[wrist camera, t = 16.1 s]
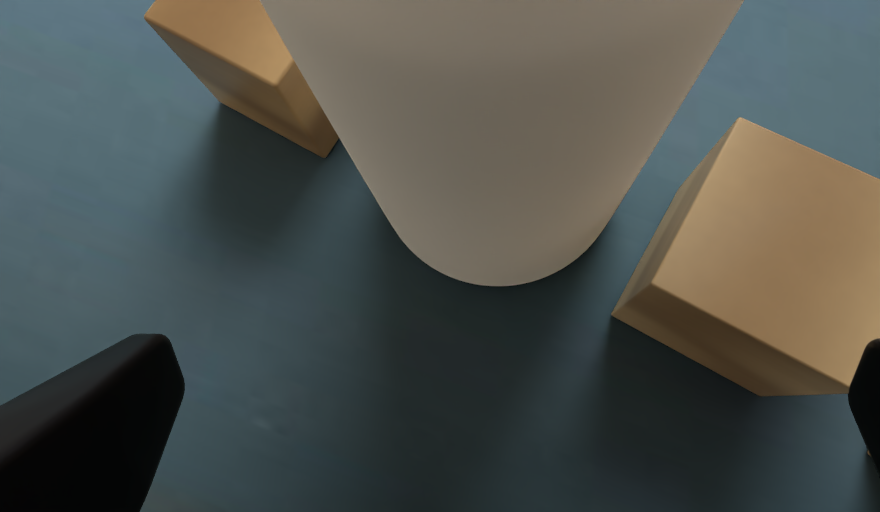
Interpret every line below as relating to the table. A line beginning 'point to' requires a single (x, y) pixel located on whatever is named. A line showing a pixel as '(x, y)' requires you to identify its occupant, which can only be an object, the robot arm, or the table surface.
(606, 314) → the table surface
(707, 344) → the block
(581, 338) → the table surface
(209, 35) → the block
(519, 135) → the can
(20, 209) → the table surface
